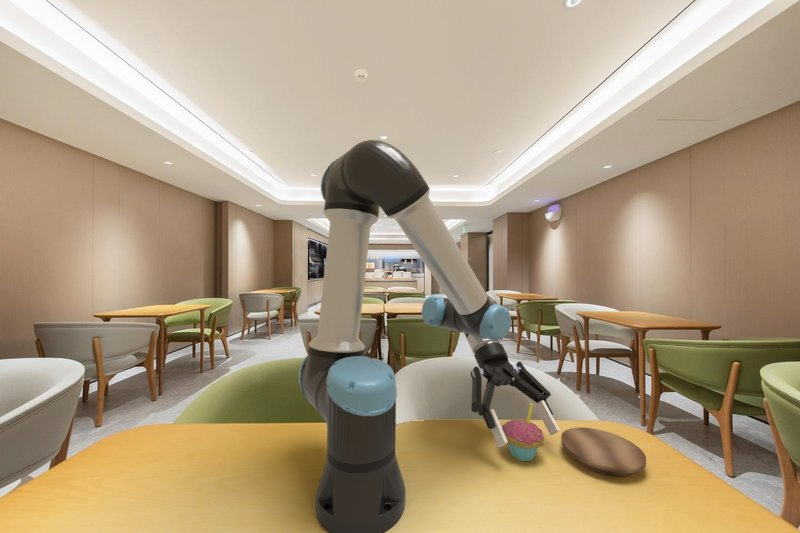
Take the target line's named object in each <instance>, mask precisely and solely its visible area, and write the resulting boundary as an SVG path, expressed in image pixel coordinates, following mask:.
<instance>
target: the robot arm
mask: <svg viewBox="0 0 800 533" xmlns="http://www.w3.org/2000/svg"><path fill="white" fill-rule="evenodd" d="M320 191H321V192H320V193H321V196H322V199H323V200H324V207H323V208H324V209H323V215H324V216H325V218H327V219H328V221H329V229H328V230H329V231H328V237H327V238H328V240H327V246H326V256H325V257H326V258H325V265H324V273H323V283H322V292H321V301H320V308H319V320H318V326H317V333H316V334H317V335H316V336H315V337H313V339H311V340H310V341H309V342H308V347H307V348H308V349H307V356H306V357H304V359H303V360H302V362H301V365H300V368H299V371H298V383H299V386H300V390H301V393H302V394H303V396H304V397H305V399H306V401H308V403H309V404H311V406H312V407H313V408H314V409H315V410H316V412H317V413H318V414H319V415H320V416H321V417H322V419H323V420H324V421H325V422H326V429H327V430H326V435H327V436H326V462H325V464H324V467H323V470H322V475H321V477H320V480H319V483H318V487H317V489H316V495H315V513H316V517H317V520H318V522H319V523H320V525H321V526H322V527H323V528H324V529H325V530H326V531H328V532H330V533H383V532H384V533H385V532H386V531H387V530H388V529H391V528H392V527H393V526H394V525H395V524H396V523H397V522H398V521H399V520H400V518H401V517H402V515H403V513H404V511H405V506H406V486H405V481H404V477H403V475H402V471H401V469H400V466H399V462H398V459H397V455H396V438H397V437H396V435H397V434H396V431H397V430H396V427H397V425H396V424H397V421H396V420H397V397H398V390H397V381H396V375H395V371H394V369H393V368H392V367H391V366H390V365H389V364H388V363H386V362H384V361H383V360H381V359H378V358H375V357H374V358H371V357H370V356H365V352H366V351H365V350H366V345H365V344H364V343H363V342H362V341H361V339H360V329H361V328H360V327H361V320H362V310H363V309H362V308H363V300H364V290H365V283H366V282H365V280H366V272H367V263H368V253H369V244H370V234H371V228H372V226H373V225H375V224H376V223H377V222H378V221H379V214H380V209H381V210H382V211H383V213H384V214H385V216H386V217H387V218H391V219H394V220H395V221H396V223H397V224H398V225H399V227H400V229H401V230H402V231H403V233H404V235H405V236H406V237H407V239H408V240H409V242H410V244H411V245H412V246H413V248H414V250H415V252H417V254H418V255H419V257H420V258H421V260H422V262H423V263H424V265H425V266H426V268H427V269H428V271H429V272H430V274H431V275H432V277H433V278H434V280H435V281H436V283H437V284H438V286H439V287H440V289H441V290H442V292H443V293H444V295H445V296H446V297H443V296H440V295H439V296H437V295H436V296H435V295H430V296H428V297H427V298H426V299H425V300H424V301H423V304H422V309H421V318H422V321H423V322H424V323H425V324H427V325H428V326H431V327H433V328H434V327H435V328H443V329H447V330H451V331H455V332H459V333H464V336H465V338H466V340H467V343H468V345H469V347H470V350H471V351H472V354H474V355H473V356H474V359H475V360H476V363H477V365H478V366H474V367H473V369H472V370H471V371H470V377H471V379H472V382H471V386H472V387H471V412H472V413H478V415H479V416H481V417H483V420H484V423H485V425H486V427H487V429H488V430H491V432H492V434H493V437H494V439H495V441H496V444H497V447H498V448H500V447H501V448H502V447H503V446H505V445H506V444H508V441H507V439H506V436H505V434H504V432H503V429H502V427H503V426H502V425H501V423H500V420H499V418H498V416H497V413H496V411H495V409H494V408H492V409H490V408H491V405H492V404H491V403H492V401H493V396H494V392H495V388H496V387H497V388H498V387H500V386H511V387H514V388H516V389H517V390H518V391H519V392H521V393H522V394H524V395H525V396H527V398H528V399H530V400H531V401H532V400H533V402H534V403H535V405H534V407H535V408H536V411H537V412H538V414H539V416H540V418H541V420H542V422H543V424H544V426H545V428H546V430H547V432H548V434H549V435H550V436H553V435H555V434H557V433H558V432H560V431H561V429H560V427H559V425H558V424H557V422H556V420H555V418H554V413H553V411H552V410H553V409H551V407H550V405H549V403H548V401H547V399H549V397H551V395H552V393H551V392H550V391H549V390H548V389H547V388H546V387H545V386H544V385H543V384H542V383H541V382H540V381H539V380H538V379H537V378H535V376H534V375H532V373H530V372H529V371H528V370H527V368H526V367H525V366H524V365H523V362H521V361H518V362H517V363H515V364H512V363H511V362H509V361H510V360H509V355H508V353H507V351H506V349H505V348H504V346H503V344H502V343H501V340H502V339H504V338H505V337H506V336H507V335H508V333H509V332H510V330H511V325H512V318H511V313H510V311H509V310H508V309H507V307H505V306H503V305H499V304H498V303H493V302H492V301H491V299H490V297H489V296H488V294H487V292H486V290H485V289H484V288H483V286H482V283H480V281H479V279H478V277H477V275H476V274H475V272H474V271H473V269H472V267H471V266H470V264H469V262H468V260H467V259H466V257H465V255H464V254H463V253H462V251H461V249H460V248H459V245H458V244H457V243H456V241H455V239H454V237H453V236H452V234H451V232H450V230H449V229H448V227H447V225H446V224H445V222H444V221H443V219H442V217H441V216H440V214H439V213H438V211H437V209H436V207H435V205H434V204H433V203H432V201H431V198H430V197H429V195H430V191H431V189H430V186H429V185H428V184H427V181H426V180H425V178H424V177H423V175H422V174H421V173H420V170H418V168H417V167H416V165H415V164H414V163H413V162H412V161H411V160H410V159H409V158H408V156H406V155H405V153H403V152H402V151H401V150H400V149H399V148H397V147H395V146H394V145H392V144H391V143H388V142H386V141H383V140H376V139H367V140H363V141H360V142H358V143H356V144H355V145H353V146H352V147H351V148H350V149H349V150H348V151H347V152H344V153H343V155H341V156H340V157H338V158H336V159H335V160H333V161H332V162H331V163H329V165H328V166H327V168H326V169H325V171H324V172H323V175H322V177H321V180H320ZM482 377H483V378H485V379H486V384H485V389H484V390H485V391H484V393H483V396H482V381H483V380H482ZM482 397H483V398H482Z"/></svg>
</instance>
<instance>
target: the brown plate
mask: <svg viewBox="0 0 800 533" xmlns="http://www.w3.org/2000/svg"><path fill="white" fill-rule="evenodd" d="M560 439H561V441H560V443H561V446H562V447H563V449H564V450H565V451H566V452H567V453H568V454H569V455H570V456H572V458H573V459H574V461H575V462H577V463H578V464H579V465H581V466H582V467H584V468H586V469H587V470H590V471H591V472H594V473H597V474H600V475H604V476H607V477H614V478H623V477H628V476H631V475H632V474H634V473H640V472H641V471H644V469H645V468H646V467H647V456H646V454H645V452H644V451H643V449H641V448H640V447H639V446H638V445H637V444H635V443H633V442H632V441H631V440H629V439H626V438H625V437H622V436H620V435H618V434H615V433H613V432H610V431H605V430H602V429H597V428H592V427H571V428H568V429H565V430H564V431H563V432H562V433H561V437H560Z"/></svg>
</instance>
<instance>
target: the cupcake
mask: <svg viewBox="0 0 800 533" xmlns="http://www.w3.org/2000/svg"><path fill="white" fill-rule="evenodd" d="M533 402H534V401H533V400H532V399H531V402H530V403H529V406H528V412H527V418H526V419H523V418H518V419H511V420H509V421H506V422H505V423H504V424H503V425H502V426H501V427H502V429H503V432H504V434H505V436H506V439H507V441H508V442H507V444H508V447H509V451H510V455H511V456H512V457H514V458H515V459H517V460H519V461H522V462H531V461H533V460H534V459H535V457H536V454H537V451H538V448H540V447H542V446H543V445H544V442H545V437H544V432H543V430H542V429H541V428H540V427H539V426H538V425H537V424H535V423H533V422H531V419H532V418H531V417H532V413H533V408H534V407H533V406H534V404H533Z"/></svg>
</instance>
